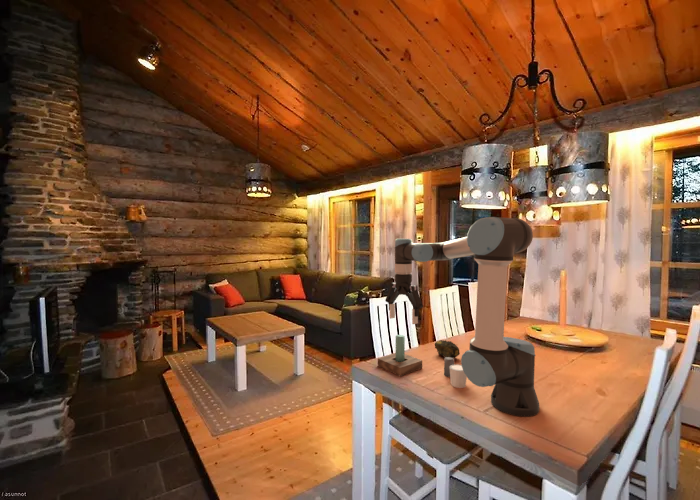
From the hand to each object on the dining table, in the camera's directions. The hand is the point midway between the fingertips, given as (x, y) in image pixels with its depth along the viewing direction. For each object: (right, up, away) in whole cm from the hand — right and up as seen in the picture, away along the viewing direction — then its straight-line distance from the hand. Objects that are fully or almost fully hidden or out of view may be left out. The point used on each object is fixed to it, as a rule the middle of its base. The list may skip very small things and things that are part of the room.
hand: (403, 320), depth 154 cm
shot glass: (+19, -22, -17) cm, 34 cm away
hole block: (-1, -21, +1) cm, 21 cm away
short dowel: (+18, -21, -8) cm, 29 cm away
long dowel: (-1, -21, +1) cm, 21 cm away
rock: (+24, -21, +14) cm, 34 cm away
